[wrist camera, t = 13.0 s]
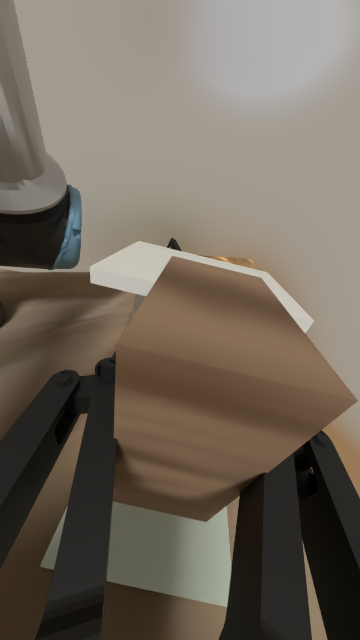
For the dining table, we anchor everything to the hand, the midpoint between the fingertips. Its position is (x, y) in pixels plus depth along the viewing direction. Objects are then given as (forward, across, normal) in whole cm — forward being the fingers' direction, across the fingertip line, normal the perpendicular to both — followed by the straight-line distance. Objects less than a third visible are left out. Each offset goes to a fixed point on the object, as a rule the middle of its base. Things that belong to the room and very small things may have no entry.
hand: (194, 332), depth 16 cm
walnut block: (-5, 0, -7) cm, 9 cm away
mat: (-5, 0, -15) cm, 16 cm away
